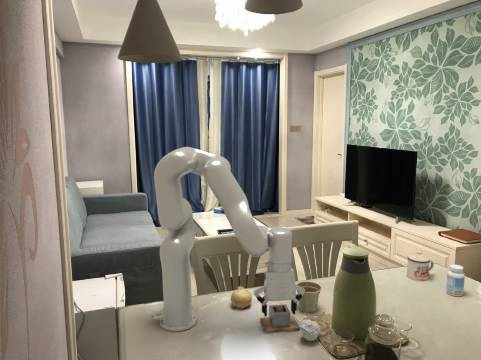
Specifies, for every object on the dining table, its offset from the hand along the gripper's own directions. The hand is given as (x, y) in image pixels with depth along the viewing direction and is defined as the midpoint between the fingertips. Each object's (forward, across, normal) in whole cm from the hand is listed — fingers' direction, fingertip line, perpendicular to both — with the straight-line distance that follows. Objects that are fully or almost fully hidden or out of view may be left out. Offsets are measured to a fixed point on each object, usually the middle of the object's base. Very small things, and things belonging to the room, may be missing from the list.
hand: (279, 313), depth 133 cm
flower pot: (+5, +13, +10) cm, 17 cm away
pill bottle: (+4, +74, +14) cm, 76 cm away
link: (+3, 0, 0) cm, 3 cm away
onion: (+5, -11, +16) cm, 20 cm away
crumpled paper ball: (+5, +8, -10) cm, 13 cm away
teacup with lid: (+4, +70, +31) cm, 77 cm away
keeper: (+4, 0, 0) cm, 4 cm away
